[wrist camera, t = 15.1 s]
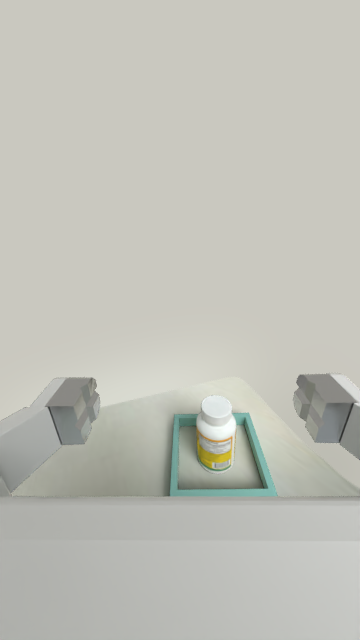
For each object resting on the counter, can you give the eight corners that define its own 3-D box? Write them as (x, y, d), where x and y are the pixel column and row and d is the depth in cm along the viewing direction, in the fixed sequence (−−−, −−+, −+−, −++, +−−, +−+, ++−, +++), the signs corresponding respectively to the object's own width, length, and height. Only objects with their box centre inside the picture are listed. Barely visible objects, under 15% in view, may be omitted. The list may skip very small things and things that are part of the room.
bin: (170, 506, 27) (169, 497, 26) (175, 422, 38) (174, 414, 38) (276, 505, 26) (277, 496, 26) (248, 420, 38) (248, 412, 37)
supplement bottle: (222, 483, 29) (224, 429, 25) (189, 459, 32) (187, 409, 28) (240, 453, 33) (244, 402, 29) (209, 434, 36) (209, 386, 32)
